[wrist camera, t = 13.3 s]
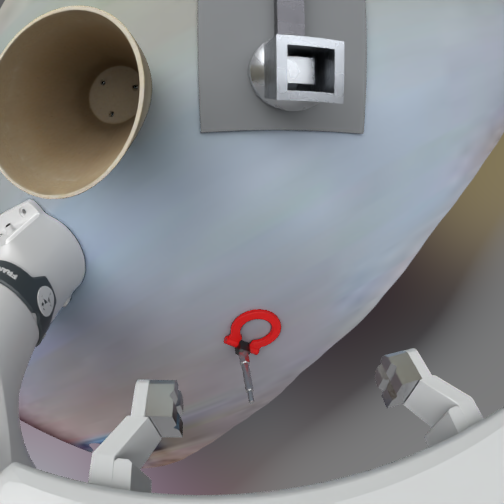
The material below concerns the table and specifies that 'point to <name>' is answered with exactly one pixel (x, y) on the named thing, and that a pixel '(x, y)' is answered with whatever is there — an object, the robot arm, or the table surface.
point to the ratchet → (298, 66)
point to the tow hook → (245, 348)
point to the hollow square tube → (325, 71)
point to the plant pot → (70, 101)
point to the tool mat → (249, 40)
